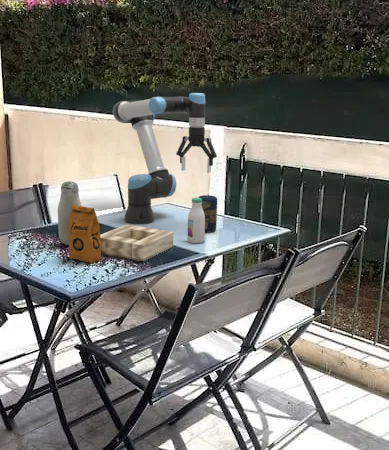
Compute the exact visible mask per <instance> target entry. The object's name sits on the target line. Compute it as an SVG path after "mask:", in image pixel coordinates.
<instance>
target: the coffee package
mask: <svg viewBox="0 0 389 450" xmlns="http://www.w3.org/2000/svg"><path fill="white" fill-rule="evenodd" d="M71 209H72V212H71V215H70V219H69V223H68V239H69V245H68V253H69V255H68V258H69V259H74V260H77V261H80V262H85V263H90V264H93V263H96V262H97V261H98V262H99V261H101V259H102V254H101V237H100V235H101V231H100V230H101V229H100V225H99V220H98V216H97V213H96V209H95V208H94V207H90V206H89V207H87V206H82V205H81V206H76V205H72V206H71Z"/></svg>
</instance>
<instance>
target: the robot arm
mask: <svg viewBox="0 0 389 450" xmlns="http://www.w3.org/2000/svg"><path fill="white" fill-rule="evenodd" d="M206 103H207V102H206V94H205V93H204V92H203V93H201V92H191V93H189V95H188V96H152V97H151V98H148V99H144V100H143V99H142V100H141V99H140V100H121V101H118V102H117V103H116V104H114V106H113V108H112V115H113V117H114V119H115V120H116V121H117V122H119V123H121V124H130V125H131V127H132V129H133V130H135V131H136V134H137V137H138V141H139V143H140V147H141V152H142V155H143V157H144V160H145V164H146V167H147V173H139V174H133V175H131V176H130V177H129V178H128V182H127V208H126V211H125V214H124V221H125V223H127V224H128V223H129V224H132V225H133V224H134V225H145V224H150V223H153V222H155V215H154V212H153V209H152V200H154V199H163V198H165V199H166V198H168V197H172V196H173V195H174V194H175V192H176V189H177V179H176V177H175V176H174V175H173V174H172V173H170V171H169V169H167V168H166V167H165V165H164V162H163V158H162V155H161V152H160V149H159V146H158V142H157V139H156V135H155V132H154V129H153V125H154V121H155V118H156V115H160V114H181V113H182V114H188V125H189V127H188V136H187V135H183V136H182V140H181V143H180V144H179V147H178V149H177V151H176V156H179V163H180V164H181V171H183V172H184V171H186V156H185V155H186V153H188V151H190V149H191V148H192V147H198V148H201V150H202V151H203V153H204V154H205V155H206V156H207V157H208V158H207V161H206V162H207V163H206V166H207V167H206V168H207V169H206V171H207V173H208V174H209V173H211V172H212V166H214V159H216V158H217V157H218V155H217V153H216V151H215V148H214V145H213V143H212V138H211V137H206V136H205V132H206V130H205V129H206V128H205V125H206ZM187 142H188V144H187ZM205 142H206V144H207V145H206V144H205ZM186 144H187V145H186ZM185 146H186V147H185Z"/></svg>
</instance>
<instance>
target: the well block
mask: <svg viewBox="0 0 389 450" xmlns="http://www.w3.org/2000/svg"><path fill="white" fill-rule="evenodd" d="M100 237H101V255H105V256H109V257H115V258H119V257H120V259H124V258H127V259H126V260H129V259H132V260H131V261H134V260H137V261H136V262H139V261H143V262H142V263H145V262H144V261H146V260H147V261H149V260H151V259H153V258H155V257H157V256H159V255H160V254H159V253H161V254H163V253H165V252H167V251H169V250H171V249H173V248H174V231H169V230H162V229H157V228H153V227H151V228H150V227H144V226H140V225H139V226H138V225H135V224H134V225H133V224H128V223H127V224H126V225H122V226H120V227H116V228H114V229H111V230H109V231H107V232H104V233H100ZM172 247H173V248H172ZM170 248H171V249H170ZM168 249H169V250H168ZM166 250H167V251H166ZM164 251H165V252H164ZM162 252H163V253H162ZM158 254H159V255H158ZM156 255H157V256H156ZM154 256H155V257H154ZM152 257H153V258H152ZM150 258H151V259H150ZM148 259H149V260H148ZM147 261H146V262H147Z"/></svg>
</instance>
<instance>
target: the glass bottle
mask: <svg viewBox="0 0 389 450" xmlns="http://www.w3.org/2000/svg"><path fill="white" fill-rule="evenodd" d="M79 192H80V191H79V185H78V183H77V182H75V181H64V182H62V184H61V186H60V197H59V199H60V200H59V202H58V207H57V224H58V225H57V226H58V227H57V228H58V237H59V238H58V239H59V240H60V242H61V243H62V244H63V245H67V246H69V239H68V223H69V219H70V215H71V212H72V209H71V206H72V205H76V206H82V202H81V199H80V194H79Z"/></svg>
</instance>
